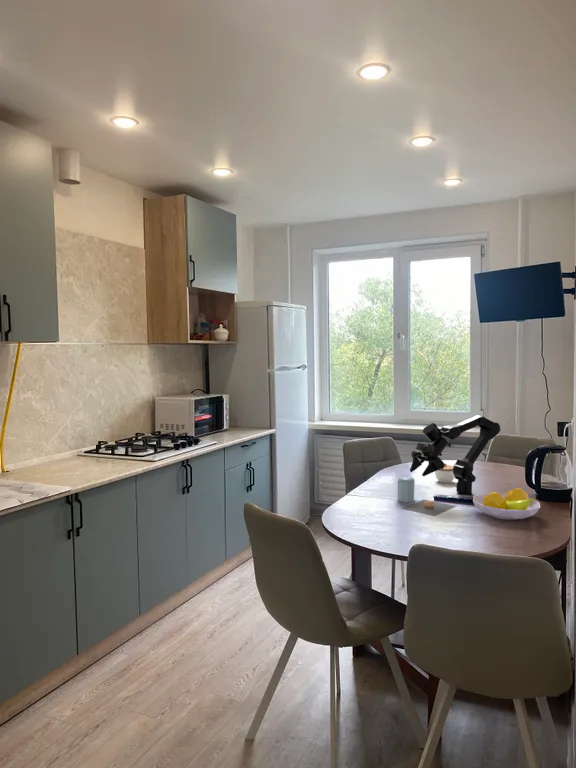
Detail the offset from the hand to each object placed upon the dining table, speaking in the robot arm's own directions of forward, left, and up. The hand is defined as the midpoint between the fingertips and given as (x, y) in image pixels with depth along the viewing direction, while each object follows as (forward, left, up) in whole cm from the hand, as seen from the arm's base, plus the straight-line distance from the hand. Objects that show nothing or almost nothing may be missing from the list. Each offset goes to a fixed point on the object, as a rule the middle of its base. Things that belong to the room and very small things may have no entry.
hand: (416, 473), depth 263 cm
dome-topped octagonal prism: (+4, +3, -12) cm, 13 cm away
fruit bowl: (-37, +17, -12) cm, 42 cm away
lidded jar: (-15, -39, -12) cm, 43 cm away
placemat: (-6, +13, -12) cm, 19 cm away
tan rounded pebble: (-6, +13, -11) cm, 18 cm away
